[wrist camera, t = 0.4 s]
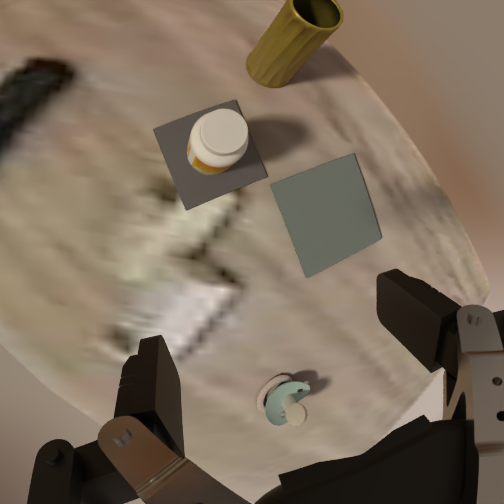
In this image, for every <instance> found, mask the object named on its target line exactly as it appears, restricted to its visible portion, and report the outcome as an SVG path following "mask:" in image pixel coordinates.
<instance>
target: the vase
mask: <svg viewBox="0 0 504 504" xmlns="http://www.w3.org/2000/svg"><path fill="white" fill-rule="evenodd" d="M342 22H343V11H342V9H341V8H340V6H339V4H338V3H337V1H336V0H287V2H286V3H285V4H284V6H283V7H282V9H281V10H280V12H279V14H278V15H277V16H276V18H275V19H274V21H273V22H272V24H271V25H270V27H269V28H268V29H267V31H266V32H265V33H264V35H263V36H262V37H261V39H260V40H259V41H258V43H257V44H256V46H255V48H254V49H253V51H252V52H251V53H250V54H249V56H248V58H247V61H246V67H247V71H248V73H249V75H250V76H251V77H252V79H253V80H255V81H256V82H257V83H259V84H261V85H263V86H265V87H270V88H277V87H282V86H284V85H286V84H287V83H288V82H289V81H290V80H291V78H292V77H293V76H294V74H295V73H296V72H297V71H298V70H299V69H300V67H301V66H302V65H303V64H304V63H305V62H306V61H307V60H308V59H309V58H310V57H311V55H312V54H313V53H314V52H315V51H316V50H317V49H318V48H319V47H320V46H321V45H322V44H323V43H324V42H325V41H326V40H327V39H328V38H329V36H330V35H331V34H332V33H333V32H334V31H336V30H337V29H338V28H339V26H340V25H341V24H342Z"/></svg>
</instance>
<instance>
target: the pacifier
mask: <svg viewBox="0 0 504 504" xmlns="http://www.w3.org/2000/svg"><path fill="white" fill-rule="evenodd" d="M279 382H287V383H284V384H282V385H280V386H279V387H277V388H276V389H275V390H274V391H273V392H272V393H271V394H270V396H269V398H268V400H267V402H266V406H264V404H263V402H264V398H265V395H266V394H267V392H268V391H269V390H270V388H272V387H273V386H274V385H275V384H277V383H279ZM298 389H303V391H301V392H297V390H298ZM309 391H310V387H309V385H308V384H306V383H304V382H300V381H292V379H291V377H289V376H288V375H279V376H277V377H274V378H273V379H271V380H270V381H269V382H268V383H267V384H265V386H264V387H263V388H262V390H261V391H260V393H259V395H258V398H257V407H258V409H259V410H260V411H262V412H266V416H267V418H268V420H269V421H270V422H271V423H272V424H274V425H283V424H284V423H286V422H287V421H288V422H289V423H290V424H291V425H293V426H299V425H301V424H303V423H304V422H305V421H306V419H307V410H306V408H305V407H304V406H303V405H302V404H300V403H297V401H299V400H301V399H302V398H304V397H305V396H306V395H307V394H308V393H309ZM281 412H285V415H284V416H283V417H281V416H280V414H281Z"/></svg>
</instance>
